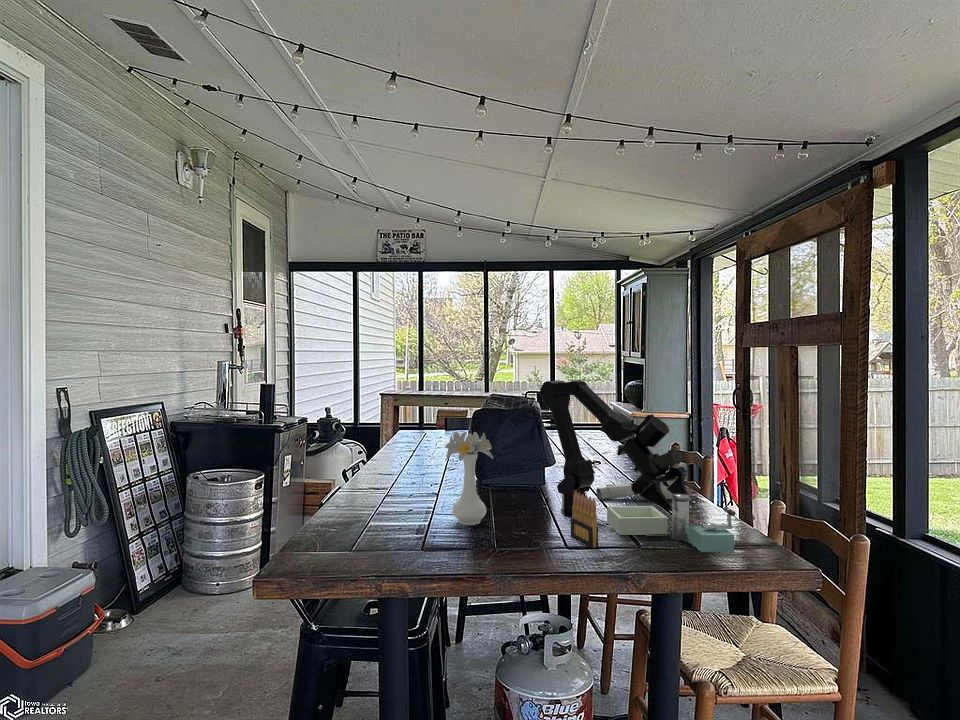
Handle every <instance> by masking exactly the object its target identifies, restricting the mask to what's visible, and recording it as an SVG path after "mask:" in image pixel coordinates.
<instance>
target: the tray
mask: <svg viewBox="0 0 960 720" xmlns="http://www.w3.org/2000/svg"><path fill="white" fill-rule="evenodd" d="M668 521H669V519H668V517H667V516H666V515H665V514H664V513H662V512H661V511H659V510H658V509H657V508H655V507H654V506H653V505H635V506H634V505H632V506H631V505H630V506H629V505H627V506H626V505H621V506H618V505H617V506H615V505H613V506H612V505H611V506H607V507H606V523H607V522H608V523H607V525H608V526H609V527H610V526H611V527H612V528H613V529H614V530H615V531H616V532H617V533H618V534H619V535H646V536H653V535H652V534H662V535H661V536H664V535H663V534H668V526H669V524H668V523H669V522H668ZM612 528H611V529H612ZM613 529H612V530H613ZM614 530H613V531H614ZM615 531H614V532H615ZM616 532H615V533H616ZM617 533H616V534H617ZM618 534H617V535H618ZM649 534H651V535H649ZM619 535H618V536H619ZM668 535H669V534H668Z"/></svg>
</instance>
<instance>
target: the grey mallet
mask: <svg viewBox="0 0 960 720" xmlns="http://www.w3.org/2000/svg"><path fill="white" fill-rule="evenodd" d="M667 488H668V487H666V486H664V485H663V483H660V490H661V491H662V493H663V494H664V496H665V498H666V499H670V500H672V495H673V494H672V493H671V492H670V491H668V490H667ZM595 493H596V496H597V497H596V498H597V499H598V500H599V501H604V500H603V499H608V500H609V499H610V500H609V501H611V500H613V499H619V498H626V497H631V496H635V494H634V493H633V492H632V490H631V484H622V485H621V484H620V485H610V486H609V485H606V486H603V487H596V489H595Z"/></svg>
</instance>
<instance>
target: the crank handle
mask: <svg viewBox="0 0 960 720" xmlns="http://www.w3.org/2000/svg"><path fill="white" fill-rule="evenodd" d="M722 510H723V512H725V513H726V523H714V522H706V523H703V524H701V526H702V528H703V529H707V530H711V531H714V530H716V529H726V530H733V528H734V527H733V524H732V519H733V518H732V517H734V516H736V512H735V511H734V510H733V509H731V508H729V507H727V506H724V507H723V509H722Z"/></svg>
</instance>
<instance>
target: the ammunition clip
mask: <svg viewBox="0 0 960 720" xmlns="http://www.w3.org/2000/svg"><path fill="white" fill-rule="evenodd" d="M570 517H571V518H570V538H571V537H572V539H573V538H574V539H573V540H575V539H576V540H575V541H577V540H578V541H580V542H581V543H580V542H579V543H580V544H582V543H583V545H584V544H585V545H584V546H586V547H587V546H588V547H587V548H589V547H590V548H589V549H591V550H592V548H593V549H598V548H599V526H597V525H598V524H597V523H598V521H597V520H598V515H597V505H596V500H595V497H593V498H592V497H591V496H589V497H588V495H587V494H586V496H585V497H584V494H582V496H581V494H580V492H579V493H578V494H577V491H575V493H574V498H573V508H572V516H570ZM578 541H577V542H578Z"/></svg>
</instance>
